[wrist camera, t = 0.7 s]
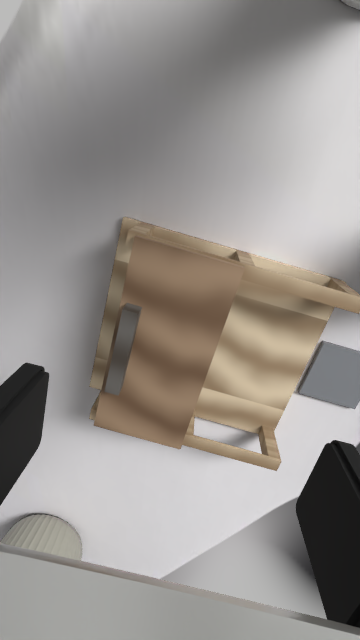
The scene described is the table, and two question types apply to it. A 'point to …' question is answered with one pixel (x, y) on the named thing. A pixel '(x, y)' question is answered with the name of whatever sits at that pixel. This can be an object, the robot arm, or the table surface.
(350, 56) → the table surface
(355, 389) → the felt mat
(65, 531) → the canister
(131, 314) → the walnut lid
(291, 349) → the light wood slatted frame
